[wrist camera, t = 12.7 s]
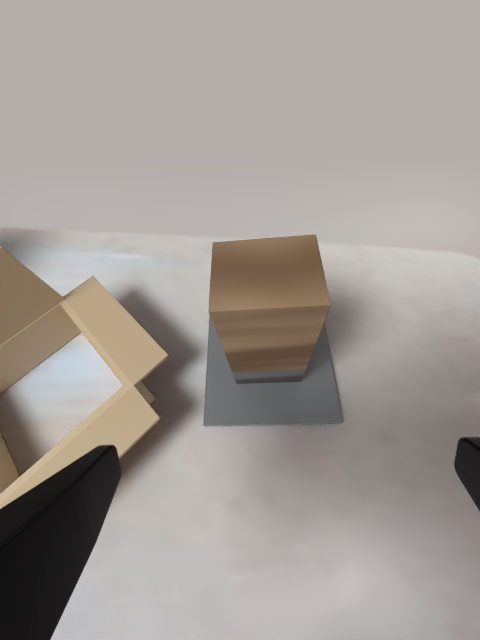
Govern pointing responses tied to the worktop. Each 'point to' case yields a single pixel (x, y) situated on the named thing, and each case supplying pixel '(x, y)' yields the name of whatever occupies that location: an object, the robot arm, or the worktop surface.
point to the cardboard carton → (49, 336)
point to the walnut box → (268, 305)
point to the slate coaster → (270, 392)
